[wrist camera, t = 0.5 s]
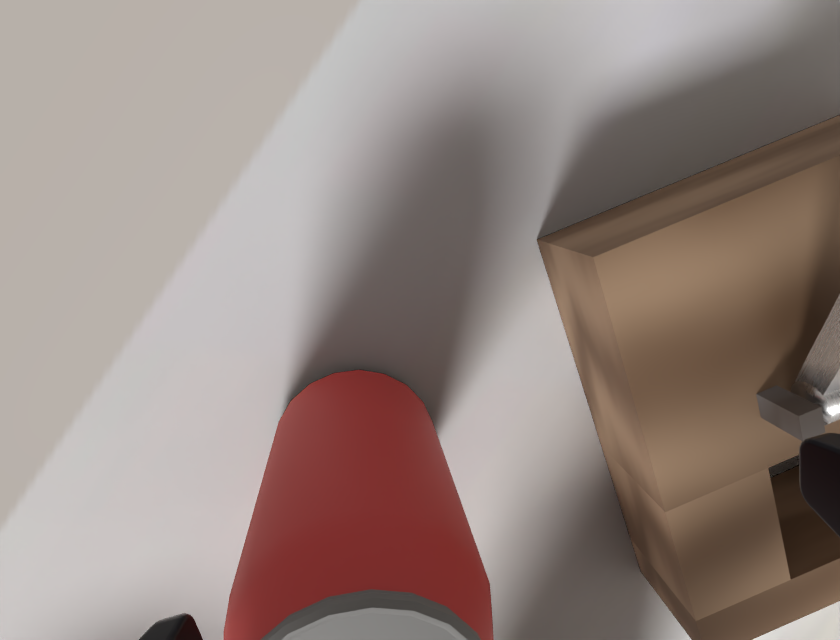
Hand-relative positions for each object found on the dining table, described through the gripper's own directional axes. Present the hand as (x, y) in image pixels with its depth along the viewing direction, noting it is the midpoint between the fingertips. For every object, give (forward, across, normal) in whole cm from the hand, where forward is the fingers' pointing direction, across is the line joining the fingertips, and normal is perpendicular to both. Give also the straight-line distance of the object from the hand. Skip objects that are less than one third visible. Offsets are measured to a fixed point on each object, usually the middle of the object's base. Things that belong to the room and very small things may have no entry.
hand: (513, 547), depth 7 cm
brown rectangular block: (+14, -14, +6) cm, 21 cm away
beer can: (+14, +3, +5) cm, 16 cm away
